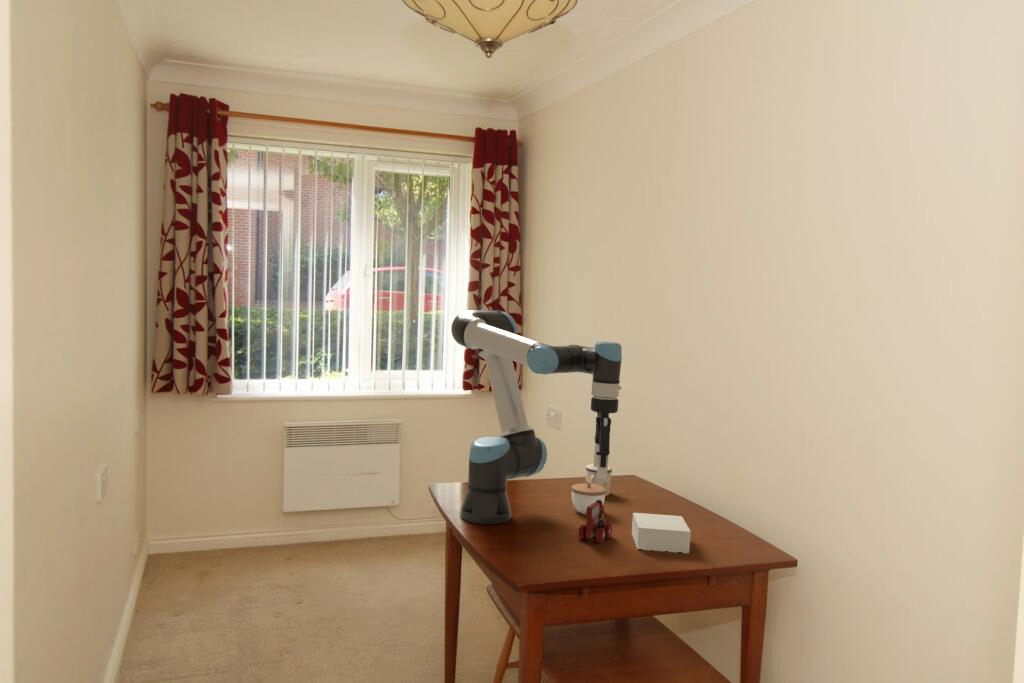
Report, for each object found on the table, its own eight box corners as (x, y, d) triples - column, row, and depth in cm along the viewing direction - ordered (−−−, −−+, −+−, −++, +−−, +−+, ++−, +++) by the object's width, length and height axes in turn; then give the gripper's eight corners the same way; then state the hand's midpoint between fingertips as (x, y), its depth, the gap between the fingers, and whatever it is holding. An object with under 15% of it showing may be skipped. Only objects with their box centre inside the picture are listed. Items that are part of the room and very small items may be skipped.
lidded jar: (603, 508, 240) (605, 479, 240) (604, 518, 230) (606, 488, 229) (570, 505, 241) (572, 477, 241) (569, 515, 231) (571, 485, 230)
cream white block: (637, 549, 203) (638, 527, 203) (631, 532, 217) (633, 512, 217) (689, 553, 202) (690, 531, 202) (680, 536, 216) (681, 516, 216)
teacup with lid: (589, 488, 265) (591, 455, 264) (614, 492, 261) (616, 459, 260) (576, 495, 254) (579, 461, 253) (602, 500, 250) (604, 465, 249)
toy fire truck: (614, 534, 215) (616, 499, 214) (598, 547, 204) (601, 509, 203) (591, 530, 218) (593, 495, 217) (575, 541, 207) (577, 504, 206)
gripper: (623, 405, 196) (617, 484, 197) (614, 392, 220) (609, 463, 222) (594, 403, 196) (589, 482, 197) (588, 390, 221) (584, 461, 222)
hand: (599, 472), depth 210 cm, fingers open, 13 cm apart
